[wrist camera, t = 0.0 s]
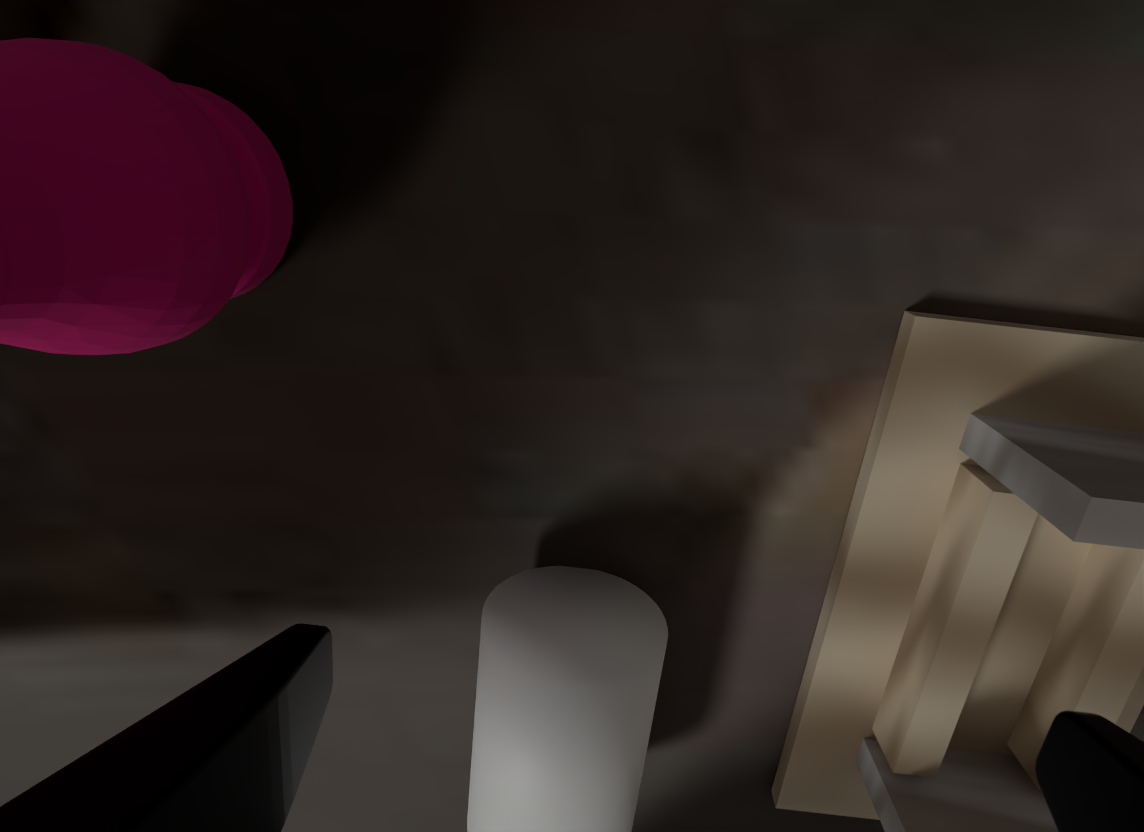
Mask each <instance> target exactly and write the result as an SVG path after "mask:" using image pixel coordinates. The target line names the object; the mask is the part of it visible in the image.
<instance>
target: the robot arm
mask: <svg viewBox="0 0 1144 832" xmlns="http://www.w3.org/2000/svg"><path fill="white" fill-rule="evenodd" d="M332 684H333V663H332V635H331V632H330V630H329V629H328V628H327V627H325V626H318V625H310V624H295V625H293V626H291V627H289V628H288V629H286V630H284V631H283V632H281V633H280V634H278V635H276V636H275V637H273V638H272V639H270V640H268V641H267V642H265V643H263V644H262V645H260V646H259V647H257V648H255V649H254V650H252V651H251V652H249V653H247V654H246V655H244V656H242V657H241V658H239V659H238V660H236V661H234V662H233V663H231V664H230V665H228V666H226V667H225V668H223V669H222V670H220V671H218V672H217V673H215V674H213V675H212V676H210V677H209V678H207V679H205V680H204V681H202V682H201V683H199V684H197V685H196V686H194V687H193V688H191V689H189V690H188V691H186V692H184V693H183V694H181V695H180V696H178V697H176V698H175V699H173V700H172V701H170V702H168V703H167V704H165V705H164V706H162V707H160V708H159V709H157V710H155V711H154V712H152V713H151V714H149V715H147V716H146V717H144V718H143V719H141V720H139V721H138V722H136V723H135V724H133V725H131V726H130V727H128V728H126V729H125V730H123V731H122V732H120V733H118V734H117V735H115V736H114V737H112V738H110V739H109V740H107V741H105V742H104V743H102V744H101V745H99V746H97V747H96V748H94V749H93V750H91V751H89V752H88V753H86V754H85V755H83V756H81V757H80V758H78V759H76V760H75V761H73V762H72V763H70V764H68V765H67V766H65V767H64V768H62V769H60V770H59V771H57V772H56V773H54V774H52V775H51V776H49V777H47V778H46V779H44V780H43V781H41V782H39V783H38V784H36V785H35V786H33V787H31V788H30V789H28V790H27V791H25V792H23V793H22V794H20V795H18V796H17V797H15V798H14V799H12V800H10V801H9V802H7V803H6V804H4V805H2V806H1V807H0V832H281V830H282V828H283V826H284V824H285V821H286V819H287V816H288V813H289V811H290V808H291V805H292V803H293V800H294V797H295V795H296V792H297V789H298V786H299V783H300V780H301V778H302V775H303V772H304V769H305V766H306V764H307V761H308V758H309V755H310V752H311V750H312V747H313V744H314V741H315V738H316V736H317V733H318V730H319V727H320V724H321V722H322V719H323V716H324V713H325V710H326V708H327V705H328V702H329V699H330V695H331V691H332ZM1035 774H1036V778H1037V782H1038V784H1039V787H1040V789H1041V792H1042V794H1043V796H1044V799H1045V801H1046V804H1047V806H1048V808H1049V811H1050V813H1051V816H1052V818H1053V820H1054V823H1055V825H1056V827H1057V830H1058V832H1144V742H1143V741H1142V740H1140V739H1138V738H1137V737H1135V736H1134V735H1132V734H1130V733H1129V732H1127V731H1126V730H1124V729H1122V728H1121V727H1119V726H1117V725H1116V724H1114V723H1113V722H1111V721H1109V720H1108V719H1106V718H1104V717H1103V716H1101V715H1098V714H1094V713H1088V712H1079V711H1070V710H1066V711H1061V712H1060V713H1059V714H1057V715H1056V716H1055V718H1054V719H1053V721H1052V724H1051V726H1050V728H1049V730H1048V733H1047V735H1046V737H1045V739H1044V741H1043V744H1042V746H1041V748H1040V750H1039V753H1038V755H1037V757H1036V761H1035Z"/></svg>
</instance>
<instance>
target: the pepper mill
mask: <svg viewBox="0 0 1144 832" xmlns="http://www.w3.org/2000/svg"><path fill="white" fill-rule="evenodd" d="M292 223H293V203H292V197H291V192H290V186H289V181H288V179H287V176H286V173H285V170H284V168H283V165H282V162H281V160H280V157H279V156H278V154H277V152H276V150H275V149H274V147H273V145H272V143H271V142H270V141H269V139H268V138H267V136H266V135H265V134H264V133H263V131H262V130H261V129H260V128H259V127H258V126H257V125H256V124H255V123H254V122H253V120H252V119H251V118H250V117H249V116H248V115H247V114H245V113H244V112H243V111H242V110H241V109H239V108H238V107H237V106H235V105H234V104H233V103H231V102H229V101H227V100H225V99H224V98H222V97H220V96H218V95H216V94H214V93H213V92H211V91H208V90H205V89H203V88H200V87H196V86H192V85H188V84H183V83H177V82H172V81H171V80H169V79H168V78H167V77H166V76H164V75H163V74H162V73H160V72H158V71H156V70H155V69H153V68H151V67H149V66H147V65H145V64H144V63H142V62H140V61H138V60H136V59H134V58H132V57H130V56H128V55H125V54H122V53H119V52H117V51H114V50H111V49H108V48H106V47H103V46H98V45H93V44H88V43H82V42H76V41H63V40H50V39H37V38H24V39H14V40H5V41H0V343H2V344H7V345H12V346H18V347H23V348H28V349H33V350H38V351H43V352H49V353H60V354H76V355H104V354H121V353H131V352H135V351H139V350H143V349H147V348H151V347H155V346H159V345H162V344H165V343H169V342H172V341H175V340H178V339H181V338H183V337H184V336H186V335H188V334H190V333H192V332H194V331H195V330H197V329H199V328H200V327H201V326H203V325H204V324H205V323H206V322H208V321H209V320H210V319H211V318H213V317H214V316H215V315H216V314H217V313H218V312H219V311H220V310H221V309H222V307H223V306H224V305H225V304H226V302H227V301H228V300H229V299H231V298H234V297H236V296H239V295H242V294H244V293H246V292H248V291H250V290H252V289H253V288H255V287H256V286H258V285H259V284H260V283H262V282H263V281H264V280H265V279H266V278H267V277H268V276H269V275H270V274H272V272H273V271H274V269H275V268H276V266H277V265H278V263H279V262H280V260H281V259H282V257H283V255H284V252H285V250H286V247H287V244H288V242H289V239H290V235H291V229H292Z"/></svg>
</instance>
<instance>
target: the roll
mask: <svg viewBox="0 0 1144 832" xmlns="http://www.w3.org/2000/svg"><path fill="white" fill-rule="evenodd" d="M667 640H668V627H667V623H666V620H665V617H664V615H663V613H662V611H661V610H660V608H659V607H658V605H657V604H656V603H655V602H654V601H653V600H652V599H651V598H650V597H649V596H648V595H647V594H646V593H645V592H643V591H642V590H641V589H639V588H638V587H636V586H635V585H633V584H631V583H630V582H628V581H626V580H624V579H622V578H620V577H617V576H614V575H612V574H609V573H606V572H602V571H599V570H594V569H585V568H576V567H567V566H548V567H540V568H535V569H531V570H527V571H524V572H521V573H518V574H516V575H514V576H512V577H510V578H508V579H506V580H505V581H503V582H501V583H500V584H499V585H498V586H497V587H495V588H494V590H493V591H492V592H491V593H490V594H489V596H488V598H487V599H486V601H485V604H484V606H483V611H482V621H481V635H480V649H479V663H478V677H477V691H476V705H475V719H474V733H473V747H472V761H471V775H470V789H469V803H468V817H467V831H468V832H632V827H633V822H634V816H635V811H636V806H637V800H638V795H639V790H640V784H641V779H642V774H643V768H644V763H645V758H646V752H647V747H648V742H649V736H650V731H651V726H652V720H653V715H654V710H655V704H656V699H657V694H658V688H659V683H660V678H661V672H662V667H663V662H664V656H665V651H666V646H667Z"/></svg>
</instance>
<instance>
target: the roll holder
mask: <svg viewBox="0 0 1144 832" xmlns="http://www.w3.org/2000/svg"><path fill="white" fill-rule="evenodd" d="M1143 706H1144V338H1143V337H1134V336H1125V335H1116V334H1107V333H1098V332H1089V331H1081V330H1072V329H1063V328H1054V327H1045V326H1036V325H1027V324H1019V323H1010V322H1001V321H992V320H983V319H974V318H965V317H957V316H948V315H939V314H930V313H921V312H912V311H904V315H903V318H902V322H901V326H900V329H899V333H898V336H897V340H896V344H895V347H894V351H893V354H892V358H891V362H890V365H889V369H888V372H887V376H886V380H885V383H884V387H883V390H882V394H881V398H880V401H879V405H878V408H877V412H876V416H875V419H874V423H873V426H872V430H871V434H870V437H869V441H868V444H867V448H866V452H865V455H864V459H863V462H862V466H861V470H860V473H859V477H858V480H857V484H856V488H855V491H854V495H853V498H852V502H851V506H850V509H849V513H848V516H847V520H846V524H845V527H844V531H843V534H842V538H841V542H840V545H839V549H838V552H837V556H836V559H835V563H834V567H833V570H832V574H831V577H830V581H829V585H828V588H827V592H826V595H825V599H824V603H823V606H822V610H821V613H820V617H819V621H818V624H817V628H816V631H815V635H814V639H813V642H812V646H811V649H810V653H809V657H808V660H807V664H806V667H805V671H804V675H803V678H802V682H801V685H800V689H799V693H798V696H797V700H796V703H795V707H794V711H793V714H792V718H791V721H790V725H789V729H788V732H787V736H786V739H785V743H784V747H783V750H782V754H781V757H780V761H779V765H778V768H777V772H776V775H775V779H774V783H773V786H772V790H771V792H772V796H773V800H774V804H775V807H776V808H779V809H787V810H796V811H805V812H814V813H823V814H832V815H840V816H849V817H858V818H867V819H876V820H880V822H881V824H882V826H883V829H884V831H885V832H1058V830H1057V827H1056V825H1055V823H1054V820H1053V818H1052V816H1051V813H1050V811H1049V808H1048V806H1047V804H1046V801H1045V799H1044V796H1043V794H1042V792H1041V789H1040V787H1039V784H1038V782H1037V778H1036V774H1035V761H1036V757H1037V755H1038V753H1039V750H1040V748H1041V746H1042V744H1043V741H1044V739H1045V737H1046V735H1047V733H1048V730H1049V728H1050V726H1051V724H1052V721H1053V719H1054V718H1055V716H1056V715H1057V714H1059V713H1060V712H1061V711H1066V710H1070V711H1079V712H1088V713H1094V714H1098V715H1101V716H1103V717H1104V718H1106V719H1108V720H1109V721H1111V722H1113V723H1114V724H1116V725H1117V726H1119V727H1121V728H1122V729H1124V730H1126V731H1127V732H1129V733H1130V732H1131V730H1132V728H1133V726H1134V724H1135V722H1136V720H1137V718H1138V716H1139V714H1140V712H1141V710H1142V708H1143Z"/></svg>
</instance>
